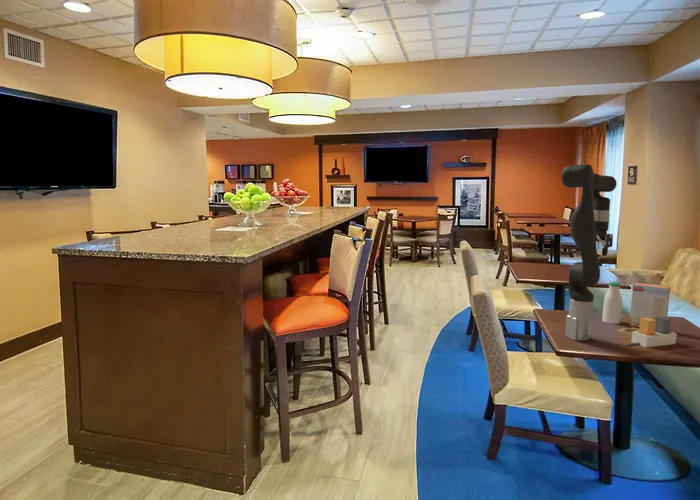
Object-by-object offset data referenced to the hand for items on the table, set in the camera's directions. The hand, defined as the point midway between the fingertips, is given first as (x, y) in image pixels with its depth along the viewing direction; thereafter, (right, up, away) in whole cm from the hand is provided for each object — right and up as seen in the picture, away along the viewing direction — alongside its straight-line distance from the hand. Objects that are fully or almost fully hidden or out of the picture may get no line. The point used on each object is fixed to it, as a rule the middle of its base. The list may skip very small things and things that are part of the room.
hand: (597, 254), depth 220 cm
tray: (+12, -36, -10) cm, 39 cm away
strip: (+10, -38, -22) cm, 45 cm away
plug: (+9, -37, -22) cm, 44 cm away
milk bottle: (+11, -34, +8) cm, 36 cm away
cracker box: (+23, -35, 0) cm, 42 cm away
